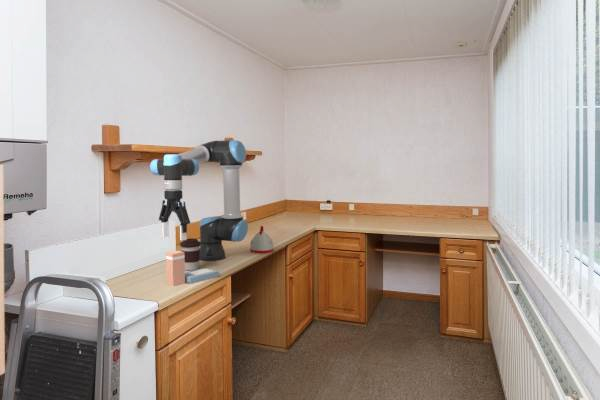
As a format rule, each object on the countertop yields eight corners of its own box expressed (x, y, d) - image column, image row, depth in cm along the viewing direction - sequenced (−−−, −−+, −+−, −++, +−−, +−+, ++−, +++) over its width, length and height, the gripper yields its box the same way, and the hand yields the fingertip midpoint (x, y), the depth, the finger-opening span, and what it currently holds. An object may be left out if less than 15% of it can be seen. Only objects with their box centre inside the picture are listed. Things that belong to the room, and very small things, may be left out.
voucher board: (205, 272, 215) (205, 267, 215) (219, 276, 209) (218, 270, 208) (175, 280, 203) (175, 274, 202) (188, 284, 196) (188, 278, 196)
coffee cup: (191, 265, 230) (191, 237, 229) (205, 268, 224) (204, 239, 223) (176, 269, 222) (175, 240, 220) (190, 272, 216) (189, 242, 215)
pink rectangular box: (178, 281, 201) (177, 250, 200) (185, 283, 198) (184, 252, 196) (166, 284, 196) (165, 252, 195) (173, 286, 193) (172, 254, 192)
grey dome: (275, 249, 273) (274, 224, 272) (271, 253, 259) (271, 228, 258) (252, 248, 274) (252, 224, 273) (247, 253, 261) (247, 227, 259)
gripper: (150, 189, 199) (151, 236, 200) (182, 191, 182) (183, 242, 184) (165, 188, 204) (166, 234, 206) (197, 190, 188) (198, 240, 190)
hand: (174, 238), depth 195 cm, fingers open, 13 cm apart
